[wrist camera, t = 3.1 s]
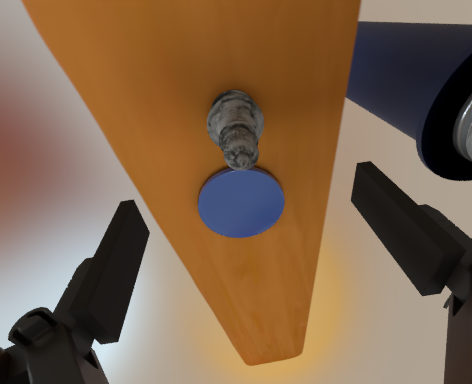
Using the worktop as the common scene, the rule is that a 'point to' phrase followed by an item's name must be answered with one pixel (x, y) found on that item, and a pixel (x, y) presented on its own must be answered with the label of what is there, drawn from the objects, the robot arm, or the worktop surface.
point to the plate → (240, 202)
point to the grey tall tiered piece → (236, 128)
